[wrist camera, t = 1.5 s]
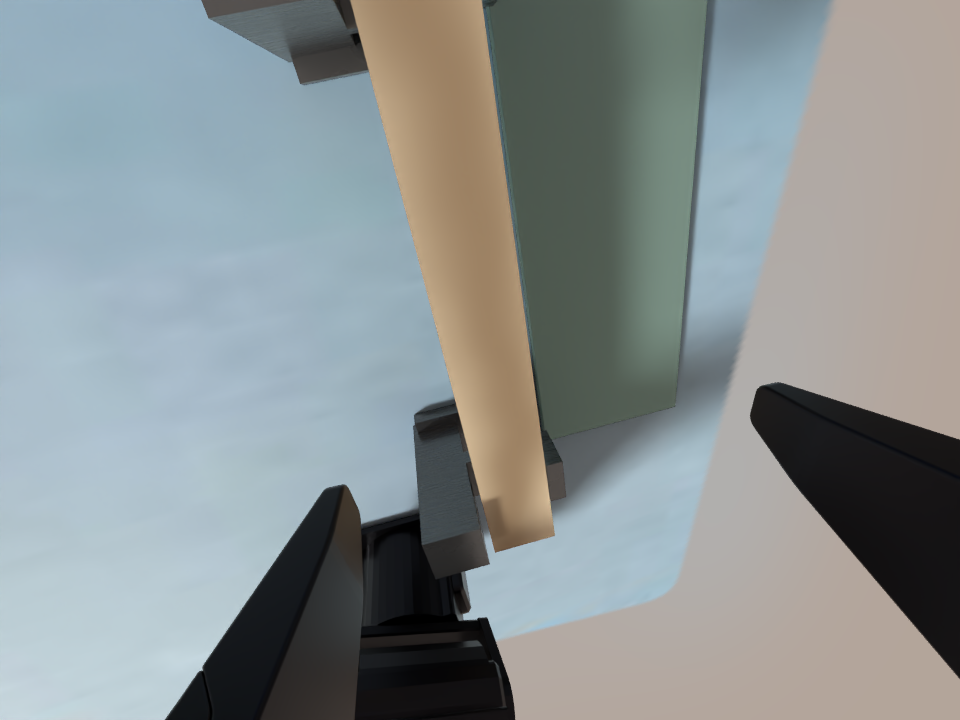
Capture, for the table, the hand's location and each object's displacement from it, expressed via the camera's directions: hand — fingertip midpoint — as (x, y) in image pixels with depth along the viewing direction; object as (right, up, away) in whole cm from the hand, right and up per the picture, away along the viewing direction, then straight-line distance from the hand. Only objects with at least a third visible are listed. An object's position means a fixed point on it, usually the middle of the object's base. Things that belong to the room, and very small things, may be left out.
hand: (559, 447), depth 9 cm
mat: (+4, +9, +11) cm, 15 cm away
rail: (-2, +4, +8) cm, 9 cm away
